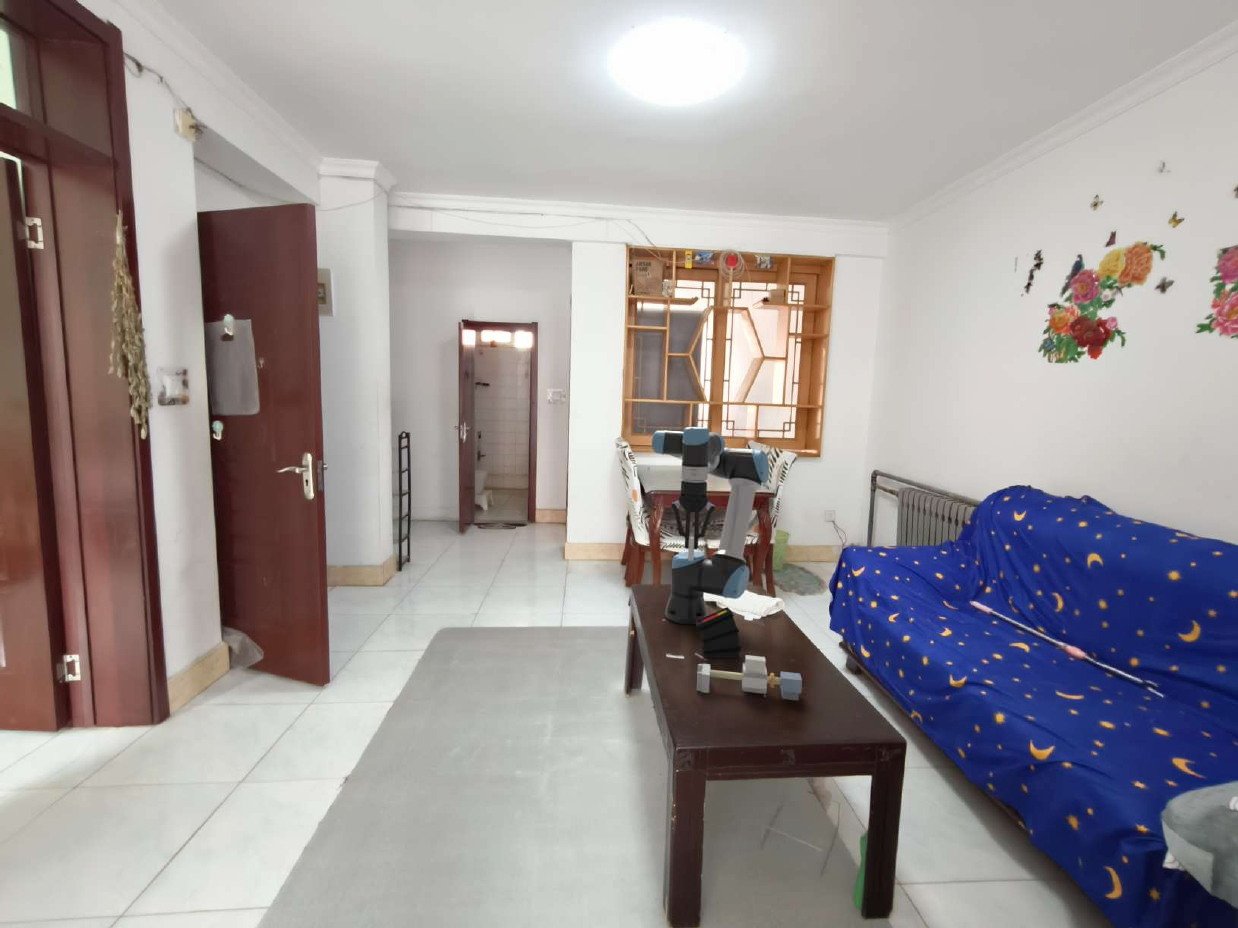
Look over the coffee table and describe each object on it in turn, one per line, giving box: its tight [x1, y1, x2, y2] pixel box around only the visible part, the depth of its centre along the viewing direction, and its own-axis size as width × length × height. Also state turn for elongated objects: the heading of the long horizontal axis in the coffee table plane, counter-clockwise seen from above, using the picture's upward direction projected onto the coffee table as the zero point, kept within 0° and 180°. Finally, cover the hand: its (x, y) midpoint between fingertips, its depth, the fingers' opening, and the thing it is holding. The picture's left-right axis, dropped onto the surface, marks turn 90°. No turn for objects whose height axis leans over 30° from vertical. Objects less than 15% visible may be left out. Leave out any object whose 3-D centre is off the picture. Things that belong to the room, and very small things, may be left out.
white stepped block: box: [741, 654, 768, 695], centre depth 144 cm, size 5×6×8 cm
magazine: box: [695, 607, 742, 659], centre depth 164 cm, size 4×13×15 cm, turn 92°
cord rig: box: [696, 663, 803, 702], centre depth 144 cm, size 6×27×6 cm, turn 80°
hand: (690, 559), depth 160 cm, fingers closed
